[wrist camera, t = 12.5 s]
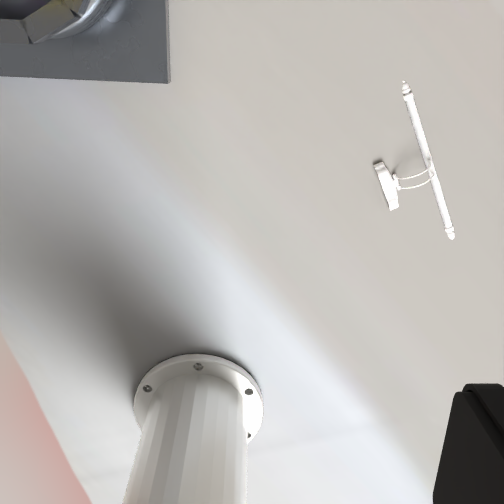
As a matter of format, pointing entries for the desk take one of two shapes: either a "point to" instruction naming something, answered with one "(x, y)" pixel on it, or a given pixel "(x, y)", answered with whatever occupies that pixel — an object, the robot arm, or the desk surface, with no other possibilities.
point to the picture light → (391, 184)
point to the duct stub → (86, 40)
